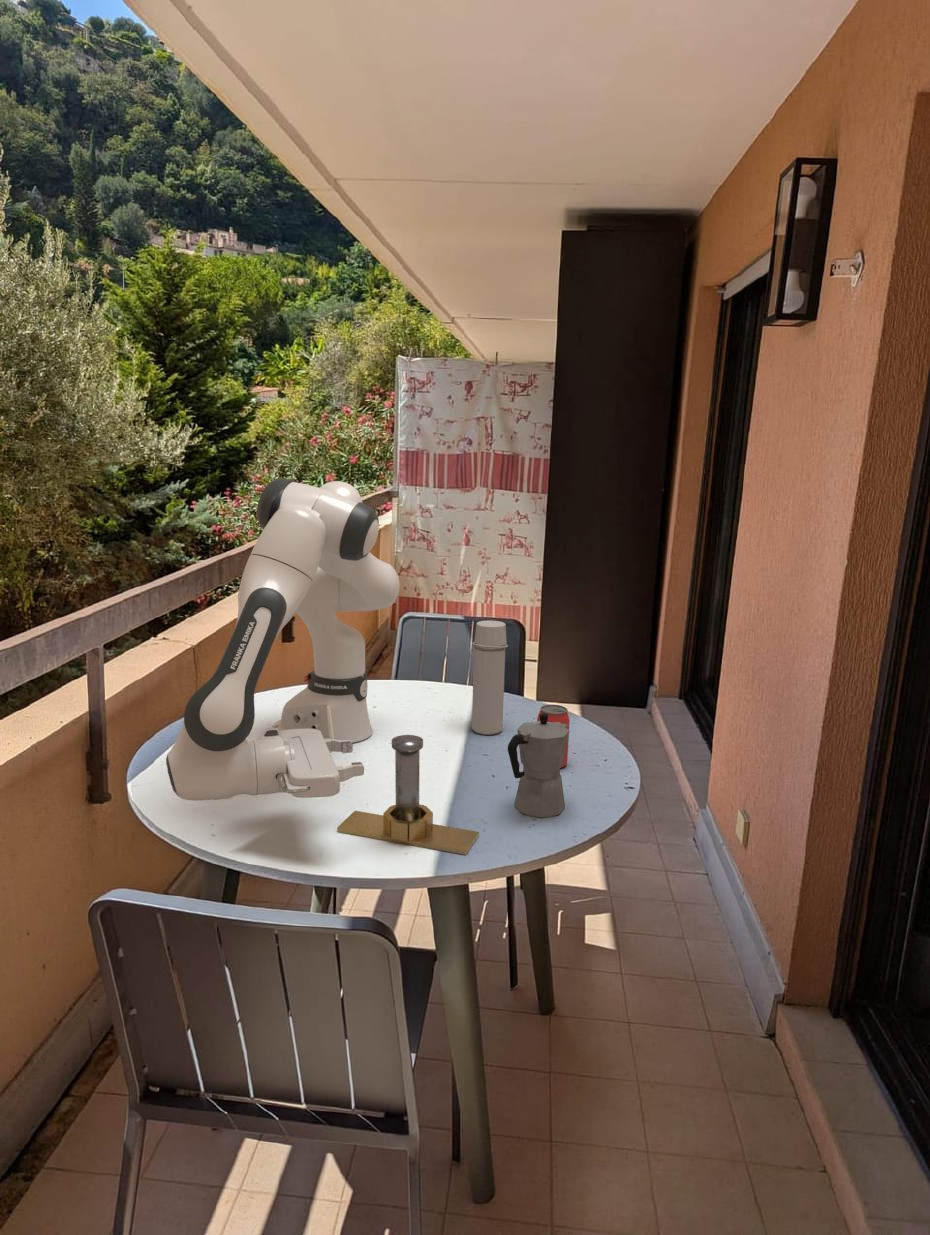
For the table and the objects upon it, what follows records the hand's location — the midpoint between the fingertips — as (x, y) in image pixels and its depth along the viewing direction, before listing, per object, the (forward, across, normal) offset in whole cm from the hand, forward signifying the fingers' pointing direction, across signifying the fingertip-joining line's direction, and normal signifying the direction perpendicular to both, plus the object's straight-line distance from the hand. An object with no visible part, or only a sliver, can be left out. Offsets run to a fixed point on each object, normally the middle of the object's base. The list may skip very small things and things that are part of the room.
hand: (357, 756), depth 145 cm
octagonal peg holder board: (+8, -4, +13) cm, 16 cm away
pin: (+8, -4, +12) cm, 15 cm away
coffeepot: (+33, 0, +14) cm, 36 cm away
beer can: (+44, +19, +14) cm, 50 cm away
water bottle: (+38, +41, +15) cm, 58 cm away
